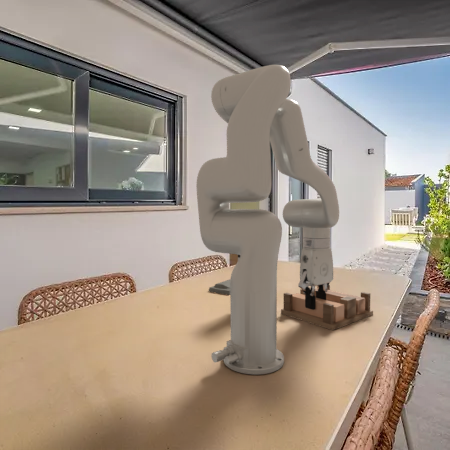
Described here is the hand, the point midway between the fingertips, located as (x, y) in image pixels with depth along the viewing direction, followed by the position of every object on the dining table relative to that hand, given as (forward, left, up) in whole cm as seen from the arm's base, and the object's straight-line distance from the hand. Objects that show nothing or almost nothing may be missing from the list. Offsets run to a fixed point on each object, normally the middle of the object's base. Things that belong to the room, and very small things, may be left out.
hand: (315, 306), depth 99 cm
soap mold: (+5, +43, -4) cm, 43 cm away
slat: (0, 0, -2) cm, 2 cm away
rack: (+5, 0, -3) cm, 6 cm away
